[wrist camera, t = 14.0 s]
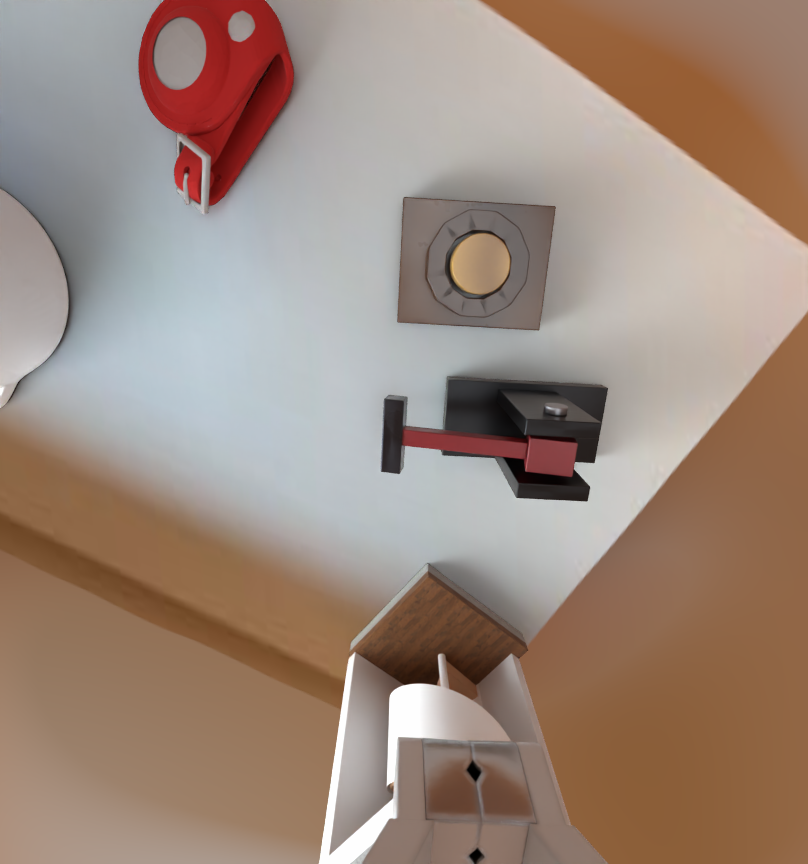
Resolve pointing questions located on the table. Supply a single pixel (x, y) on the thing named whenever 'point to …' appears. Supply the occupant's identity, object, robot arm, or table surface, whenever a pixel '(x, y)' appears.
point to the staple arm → (471, 444)
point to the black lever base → (529, 425)
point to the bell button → (480, 264)
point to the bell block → (431, 252)
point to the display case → (421, 700)
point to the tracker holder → (214, 86)
